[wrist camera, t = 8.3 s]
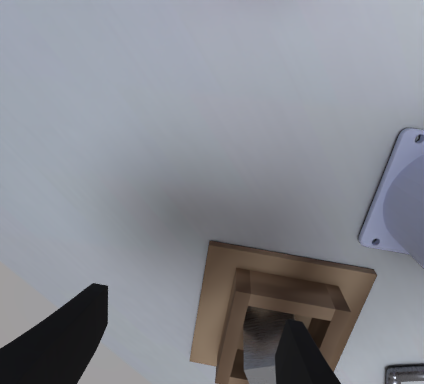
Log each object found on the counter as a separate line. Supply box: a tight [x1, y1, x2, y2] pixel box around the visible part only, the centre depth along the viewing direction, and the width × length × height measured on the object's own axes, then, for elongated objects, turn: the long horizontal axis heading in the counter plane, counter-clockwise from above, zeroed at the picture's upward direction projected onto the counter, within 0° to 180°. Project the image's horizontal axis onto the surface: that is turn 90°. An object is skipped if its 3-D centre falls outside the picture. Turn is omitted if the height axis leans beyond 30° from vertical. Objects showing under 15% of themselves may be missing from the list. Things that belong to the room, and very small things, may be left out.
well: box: [190, 241, 377, 384], centre depth 21 cm, size 12×12×3 cm
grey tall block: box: [243, 306, 296, 384], centre depth 20 cm, size 4×5×6 cm
